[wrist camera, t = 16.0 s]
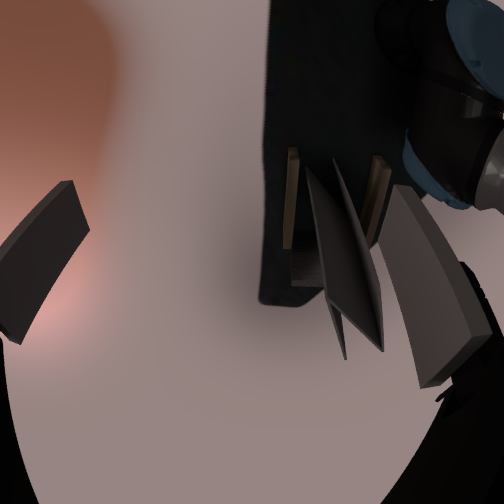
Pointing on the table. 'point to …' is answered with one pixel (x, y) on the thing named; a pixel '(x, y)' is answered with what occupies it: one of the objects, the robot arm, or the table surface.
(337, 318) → the brochure
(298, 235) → the bookend
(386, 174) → the slot rails
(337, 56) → the table surface
